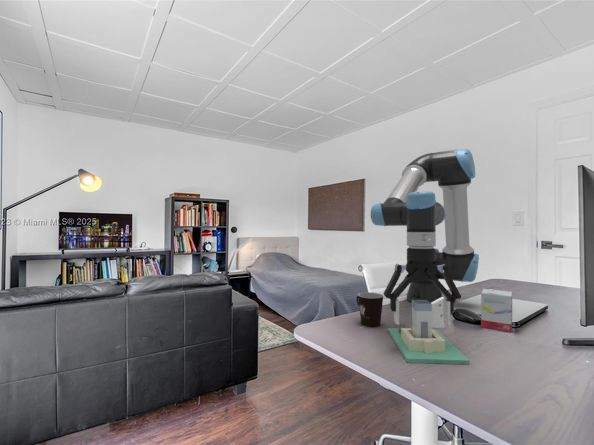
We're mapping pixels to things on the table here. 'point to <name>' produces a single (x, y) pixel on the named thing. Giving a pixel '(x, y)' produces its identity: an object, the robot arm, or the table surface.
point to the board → (426, 347)
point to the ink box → (496, 310)
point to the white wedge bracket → (438, 313)
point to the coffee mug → (370, 308)
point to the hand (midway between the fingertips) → (421, 323)
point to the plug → (421, 319)
